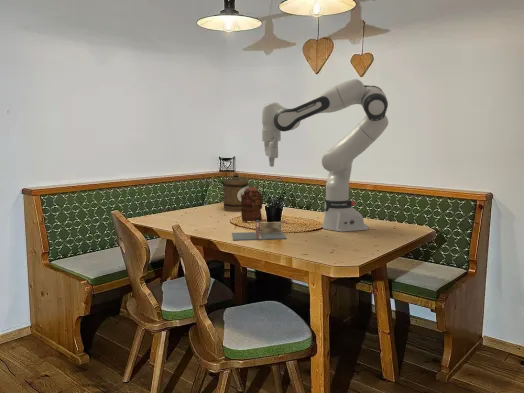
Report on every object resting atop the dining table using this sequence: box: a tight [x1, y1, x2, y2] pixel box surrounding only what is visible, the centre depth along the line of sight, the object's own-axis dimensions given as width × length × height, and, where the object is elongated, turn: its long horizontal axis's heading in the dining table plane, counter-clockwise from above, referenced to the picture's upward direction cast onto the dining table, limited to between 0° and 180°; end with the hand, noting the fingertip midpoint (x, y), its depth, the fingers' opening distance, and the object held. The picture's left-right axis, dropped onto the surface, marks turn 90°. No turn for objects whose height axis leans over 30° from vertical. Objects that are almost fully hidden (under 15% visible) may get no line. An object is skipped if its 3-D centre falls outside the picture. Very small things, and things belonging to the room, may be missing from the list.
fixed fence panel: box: [255, 220, 282, 233], centre depth 223 cm, size 12×2×6 cm, turn 96°
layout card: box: [231, 230, 287, 241], centre depth 219 cm, size 24×13×1 cm, turn 96°
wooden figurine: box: [240, 186, 263, 222], centre depth 253 cm, size 12×6×18 cm, turn 134°
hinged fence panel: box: [255, 222, 259, 238], centre depth 217 cm, size 10×1×5 cm, turn 0°
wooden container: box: [223, 172, 249, 213], centre depth 285 cm, size 15×15×22 cm
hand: (271, 166), depth 230 cm, fingers closed
